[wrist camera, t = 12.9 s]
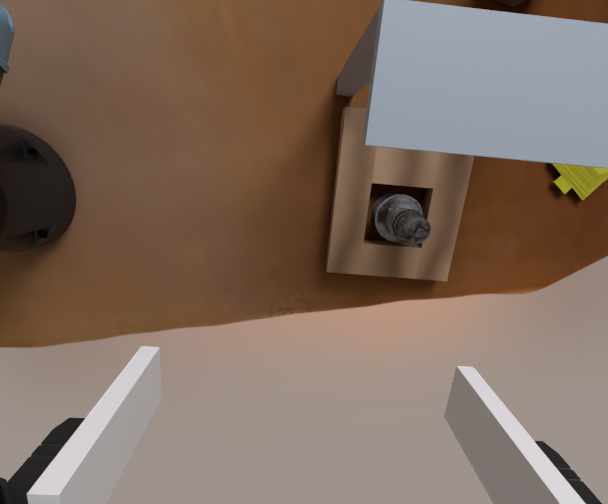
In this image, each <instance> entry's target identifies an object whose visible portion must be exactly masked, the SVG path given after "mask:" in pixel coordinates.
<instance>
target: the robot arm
mask: <svg viewBox="0 0 608 504" xmlns="http://www.w3.org/2000/svg"><path fill="white" fill-rule="evenodd" d="M14 33H15V30H14V23H13V21H12V18H11V16H10V15H9V13H8V12H7V10H6V9H5V8H4V7H3V5H2V4H0V85H1V82H2V79H3V75H4V73H7V74H8V72H9V66H8V64H7V63H8V58H9V54H10V50H11V46H12V42H13V38H14ZM75 204H76V196H75V188H74V184H73V180H72V178H71V175H70V173H69V171H68V169H67V167H66V165H65V164H64V162H63V161H62V159H61V158H60V156H59V155H58V154H57V153H56V152H55V151H54V150H53V149H52V148H51V147H50V146H49V145H48V144H47V143H46V142H44V141H43V140H42V139H40V138H39V137H37V136H36V135H34V134H32V133H30V132H28V131H26V130H23V129H20V128H17V127H14V126H9V125H0V251H24V250H29V249H33V248H36V247H39V246H41V245H44V244H47V243H49V242H51V241H53V240H55V239H56V238H58V237H59V236H60V235H61V234H62V233H63V232H64V231H65V230H66V229H67V227H68V226H69V224H70V222H71V220H72V217H73V215H74V211H75ZM160 372H161V371H160V347H147V346H141V348H140V349H139V350H138V351H137V353H136V354H135V355H134V357H133V358H132V359H131V360H130V362H129V363H128V364H127V366H126V367H125V368H124V369H123V371H122V372H121V373H120V375H119V376H118V377H117V379H116V380H115V381H114V382H113V384H112V385H111V386H110V387H109V389H108V390H107V391H106V393H105V394H104V395H103V396H102V398H101V399H100V400H99V402H98V403H97V404H96V405H95V407H94V408H93V410H92V411H91V412H90V413H89V414H88V416H87V417H86V418H69V419H67V420H66V421H64V422H63V423H61V424H60V425H59V426H57V427H56V428H54V429H53V430H52V431H51V432H50V434H49V435H48V436H47V437H46V438H45V440H44V441H43V442H42V443H41V446H38V447H37V449H36V450H35V451H34V452H33V453H32V455H31V457H29V458H28V459H27V460H26V461H25V463H24V464H23V465H22V466H21V467H20V468H19V470H18V471H17V472H16V473H15V474H14V475H13V476H12V478H11V479H10V480H9V481H8V482H7V481H6V479H3V478H0V504H107V502H108V501H109V499H110V497H111V495H112V493H113V491H114V489H115V487H116V486H117V484H118V482H119V480H120V478H121V476H122V474H123V472H124V471H125V469H126V467H127V465H128V463H129V461H130V459H131V457H132V455H133V453H134V452H135V450H136V448H137V446H138V444H139V442H140V440H141V438H142V436H143V435H144V433H145V431H146V429H147V427H148V425H149V423H150V421H151V419H152V418H153V416H154V414H155V412H156V410H157V408H158V406H159V404H160V403H161V373H160ZM444 416H445V419H446V421H447V422H448V424H449V426H450V427H451V429H452V431H453V433H454V435H455V437H456V438H457V440H458V442H459V444H460V445H461V447H462V449H463V451H464V453H465V454H466V456H467V458H468V459H469V461H470V463H471V465H472V467H473V468H474V470H475V472H476V474H477V476H478V477H479V479H480V481H481V483H482V485H483V486H484V488H485V490H486V492H487V493H488V495H489V497H490V499H491V500H492V502H493V504H602V503H601V502H600V501H599V500H598V499H597V498H596V496H595V495H594V494H593V493H592V492H591V491H590V489H589V488H588V487H587V486H586V485H585V484H584V483H583V482H581V481H580V478H579V477H578V476H577V475H576V473H575V472H574V471H573V470H571V469H570V467H569V465H568V464H567V463H566V462H565V461H564V459H563V458H562V457H561V456H560V455H559V454H558V453H557V452H556V451H554V450H553V449H552V448H550V447H549V446H548V445H547V444H545V443H544V442H542V441H534V440H533V439H532V438H531V437H530V435H529V434H528V433H527V432H526V431H525V429H524V428H523V427H522V426H521V425H520V423H519V422H518V421H517V420H516V418H515V417H514V416H513V415H512V414H511V413H510V411H509V410H508V409H507V407H506V406H505V405H504V404H503V403H502V401H501V400H500V399H499V398H498V397H497V395H496V394H495V393H494V392H493V390H492V389H491V388H490V387H489V386H488V384H487V383H486V382H485V381H484V380H483V378H482V377H481V376H480V375H479V373H478V372H477V371H476V370H475V369H474V367H465V366H457V367H456V371H455V375H454V379H453V383H452V387H451V391H450V395H449V399H448V403H447V407H446V411H445V415H444Z"/></svg>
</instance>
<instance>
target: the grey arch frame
mask: <svg viewBox="0 0 608 504" xmlns="http://www.w3.org/2000/svg"><path fill="white" fill-rule="evenodd" d="M369 81H370V85H369V93H368V100H367V108H366V116H365V123H364V131H363V139H362V145H365V146H376V147H386V148H397V149H407V150H418V151H428V152H439V153H449V154H460V155H470V156H481V157H491V158H502V159H512V160H523V161H534V162H544V163H555V164H565V165H576V166H586V167H597V168H607V169H608V24H604V23H596V22H587V21H579V20H570V19H562V18H553V17H545V16H536V15H528V14H519V13H511V12H502V11H494V10H485V9H477V8H468V7H460V6H451V5H443V4H434V3H426V2H417V1H409V0H383V2H382V3H381V5H380V7H379V8H378V10H377V12H376V13H375V15H374V17H373V18H372V20H371V22H370V23H369V25H368V27H367V28H366V30H365V32H364V34H363V35H362V37H361V39H360V40H359V42H358V44H357V45H356V47H355V49H354V50H353V52H352V54H351V55H350V57H349V59H348V60H347V62H346V64H345V65H344V67H343V69H342V70H341V72H340V74H339V76H338V80H337V90H336V95H341V96H351V97H353V96H354V95H355V94H356V93H357V92H358V91H359V90H360V89H361V88H363V87H364V86H365V85H366V84H367V83H368V82H369Z"/></svg>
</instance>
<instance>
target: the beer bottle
mask: <svg viewBox="0 0 608 504" xmlns="http://www.w3.org/2000/svg"><path fill="white" fill-rule="evenodd" d="M494 1H497V2H500V3H502V4H505V5H508V6H511V7H515V6H516V5H518V4H520V3H522V2H524V1H525V0H494Z"/></svg>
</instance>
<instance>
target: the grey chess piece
mask: <svg viewBox="0 0 608 504" xmlns="http://www.w3.org/2000/svg"><path fill="white" fill-rule="evenodd" d="M371 216H372V221H373V223H374V225H375V226H376V228H377V230H378V232H379V233H380V235H381V236H382V237H384V238H385V239H387V240H390V241H393V242H400V241H408V242H410V243H413V244H419V243H422V242H424V241H426V240H427V239H428V237H429V236H430V234H431V226H430V224H429V222H428V221H427V220H426V219H424V217H423V212H422V208H421V206H420V204H419V203H418V202H417V200H415V199H414V198H412V197H411V196H408V195H404V194H396V193H390V194H386V195H384V196H382V197H380V198H379V199H378V200H377V201H376V202H375V204H374V206H373V208H372V213H371Z"/></svg>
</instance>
